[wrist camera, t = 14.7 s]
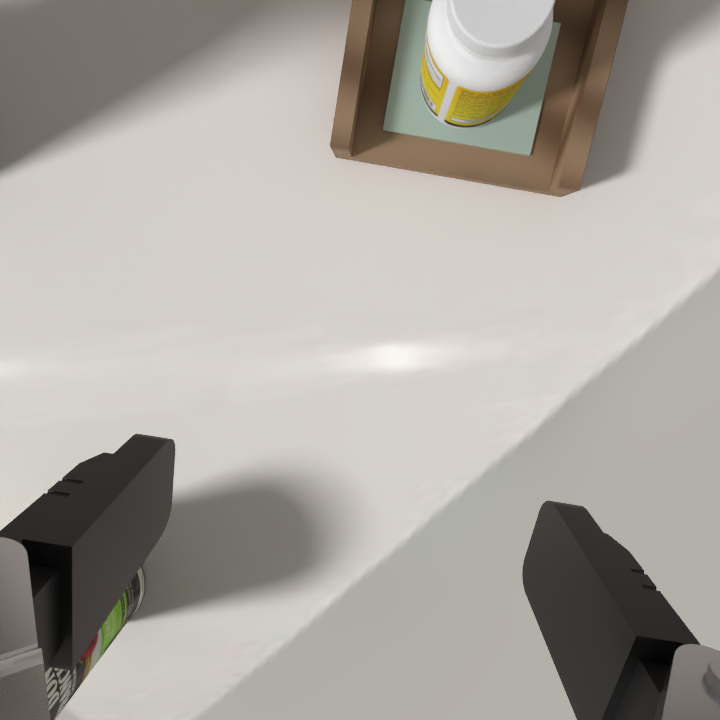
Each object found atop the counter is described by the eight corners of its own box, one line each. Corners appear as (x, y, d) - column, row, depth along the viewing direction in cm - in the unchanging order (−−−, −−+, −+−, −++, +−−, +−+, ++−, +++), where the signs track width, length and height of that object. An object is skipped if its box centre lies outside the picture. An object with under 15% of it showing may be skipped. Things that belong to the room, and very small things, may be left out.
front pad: (529, 156, 33) (530, 155, 33) (382, 130, 33) (382, 129, 33) (559, 24, 31) (560, 23, 31) (405, -2, 32) (405, -3, 31)
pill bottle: (533, 64, 32) (608, -39, 21) (477, 150, 33) (520, 95, 22) (454, 8, 31) (488, -127, 20) (400, 97, 33) (405, 14, 22)
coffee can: (133, 518, 41) (4, 647, 28) (155, 625, 43) (45, 796, 29) (18, 526, 42) (-163, 656, 28) (45, 631, 44) (-112, 799, 30)
